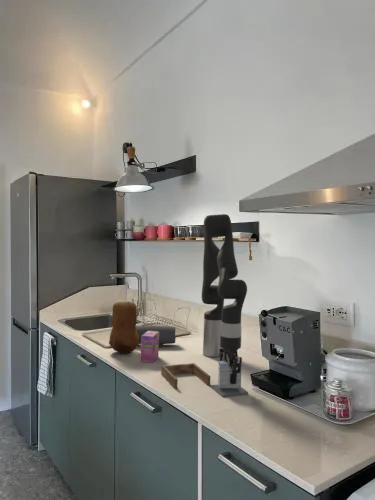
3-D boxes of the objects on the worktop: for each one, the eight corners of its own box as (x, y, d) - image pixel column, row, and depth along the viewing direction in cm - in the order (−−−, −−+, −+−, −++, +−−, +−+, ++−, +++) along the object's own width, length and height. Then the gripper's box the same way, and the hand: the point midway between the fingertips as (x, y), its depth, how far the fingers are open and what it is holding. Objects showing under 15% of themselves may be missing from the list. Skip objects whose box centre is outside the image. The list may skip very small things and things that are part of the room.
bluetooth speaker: (130, 347, 206) (130, 327, 206) (130, 343, 216) (131, 324, 216) (175, 347, 209) (175, 328, 208) (174, 343, 218) (174, 324, 218)
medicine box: (239, 384, 152) (239, 361, 152) (241, 388, 148) (241, 364, 148) (217, 384, 152) (218, 360, 152) (219, 388, 147) (219, 364, 147)
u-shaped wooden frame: (193, 371, 171) (194, 363, 171) (210, 385, 155) (210, 376, 155) (161, 374, 166) (161, 365, 166) (174, 388, 150) (174, 379, 150)
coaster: (235, 384, 156) (235, 382, 156) (248, 394, 147) (248, 392, 147) (211, 387, 153) (211, 385, 153) (222, 397, 143) (222, 394, 143)
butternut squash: (134, 348, 206) (135, 298, 205) (141, 355, 193) (143, 301, 193) (106, 349, 201) (108, 298, 200) (111, 357, 188) (113, 302, 188)
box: (152, 363, 181) (153, 336, 181) (140, 361, 182) (140, 335, 182) (158, 356, 191) (159, 331, 191) (147, 355, 193) (147, 330, 192)
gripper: (249, 338, 144) (248, 386, 144) (231, 329, 158) (230, 373, 158) (230, 339, 141) (228, 388, 142) (213, 330, 155) (212, 375, 155)
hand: (229, 380), depth 150 cm, fingers closed on medicine box, 5 cm apart
